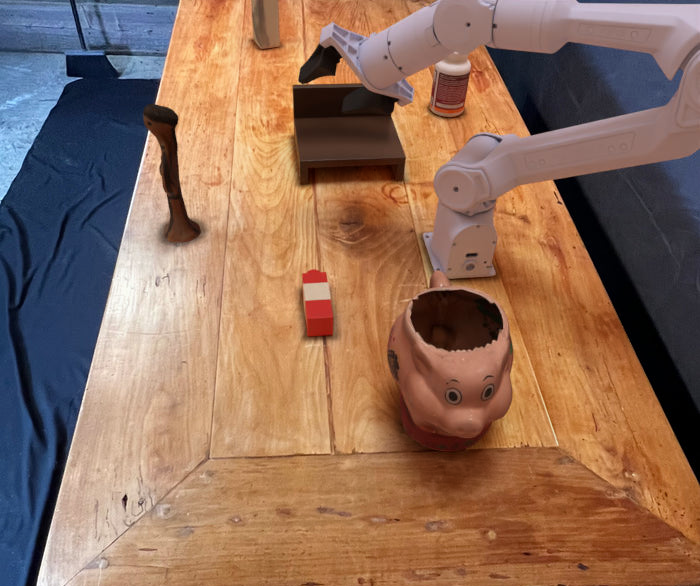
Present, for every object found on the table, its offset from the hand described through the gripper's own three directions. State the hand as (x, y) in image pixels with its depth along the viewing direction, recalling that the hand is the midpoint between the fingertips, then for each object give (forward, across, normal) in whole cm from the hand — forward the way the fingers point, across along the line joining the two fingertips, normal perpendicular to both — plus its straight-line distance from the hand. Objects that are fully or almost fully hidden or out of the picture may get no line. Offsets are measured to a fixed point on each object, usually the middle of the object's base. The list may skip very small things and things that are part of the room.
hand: (323, 91), depth 81 cm
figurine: (+19, +6, +18) cm, 27 cm away
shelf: (+12, -16, -2) cm, 20 cm away
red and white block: (-1, -3, +29) cm, 29 cm away
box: (+42, -16, -37) cm, 59 cm away
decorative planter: (-16, -10, +39) cm, 43 cm away
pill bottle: (+8, -34, -19) cm, 39 cm away
